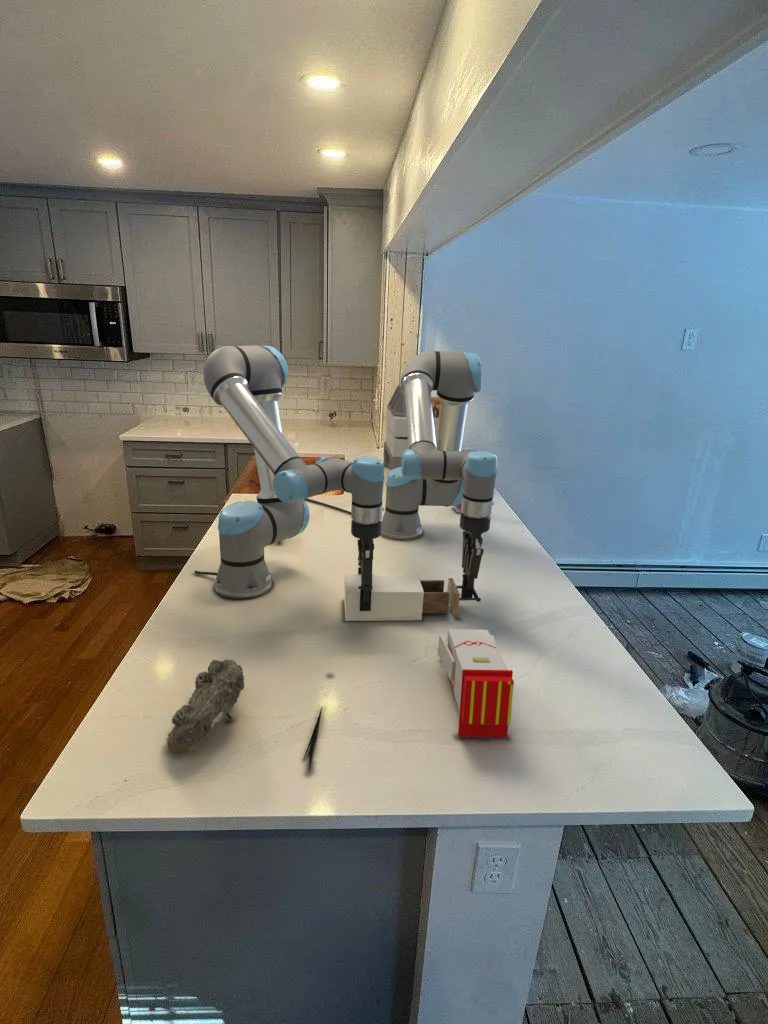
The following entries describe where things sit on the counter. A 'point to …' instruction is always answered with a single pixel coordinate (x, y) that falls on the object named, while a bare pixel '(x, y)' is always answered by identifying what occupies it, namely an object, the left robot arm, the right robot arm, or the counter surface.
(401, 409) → the transformer
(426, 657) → the counter surface
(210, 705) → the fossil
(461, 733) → the toy
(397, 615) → the cabinet
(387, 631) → the counter surface
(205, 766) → the counter surface
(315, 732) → the feather
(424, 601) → the drawer
